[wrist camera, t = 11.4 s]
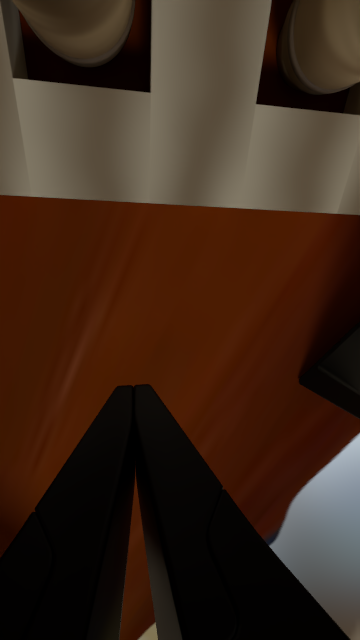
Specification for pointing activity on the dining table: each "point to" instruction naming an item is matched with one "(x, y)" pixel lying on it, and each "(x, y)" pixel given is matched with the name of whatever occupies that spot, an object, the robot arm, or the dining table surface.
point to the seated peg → (80, 27)
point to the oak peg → (320, 46)
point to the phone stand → (338, 374)
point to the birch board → (178, 124)
